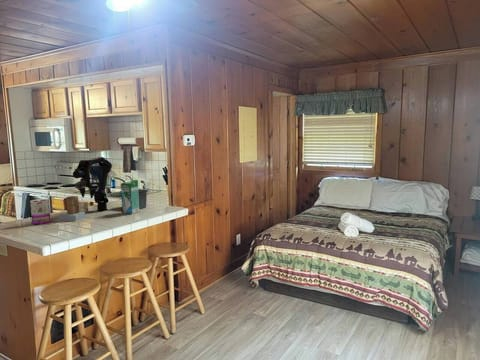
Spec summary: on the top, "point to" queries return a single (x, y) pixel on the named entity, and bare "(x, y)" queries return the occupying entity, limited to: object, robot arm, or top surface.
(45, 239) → the top surface
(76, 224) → the top surface
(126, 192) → the milk carton
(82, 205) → the birch block
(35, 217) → the candy bar box
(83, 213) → the base block
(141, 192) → the storage bin
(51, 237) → the top surface
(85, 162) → the robot arm
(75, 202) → the walnut block
